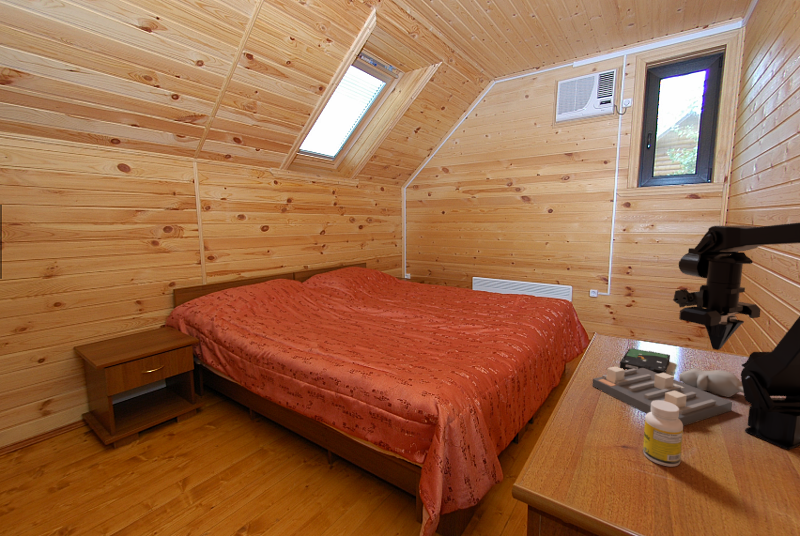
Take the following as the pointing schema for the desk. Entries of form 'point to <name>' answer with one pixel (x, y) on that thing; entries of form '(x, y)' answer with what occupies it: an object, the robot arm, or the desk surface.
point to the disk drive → (645, 360)
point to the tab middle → (663, 381)
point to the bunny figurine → (713, 381)
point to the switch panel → (662, 395)
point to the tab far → (615, 374)
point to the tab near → (676, 398)
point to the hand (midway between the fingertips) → (716, 349)
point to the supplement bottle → (663, 434)
